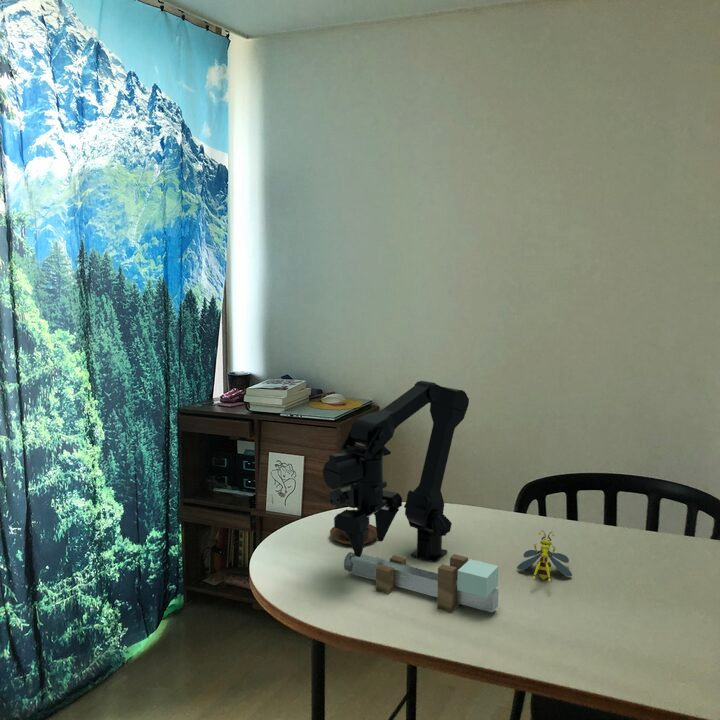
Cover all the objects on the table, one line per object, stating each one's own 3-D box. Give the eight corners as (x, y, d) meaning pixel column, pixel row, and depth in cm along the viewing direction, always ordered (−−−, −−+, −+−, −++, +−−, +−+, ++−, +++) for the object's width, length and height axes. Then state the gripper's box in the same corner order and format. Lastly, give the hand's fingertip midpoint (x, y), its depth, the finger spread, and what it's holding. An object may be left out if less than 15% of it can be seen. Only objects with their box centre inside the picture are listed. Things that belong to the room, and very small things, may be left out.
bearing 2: (453, 593, 146) (454, 553, 144) (466, 596, 144) (467, 557, 143) (437, 608, 139) (437, 567, 138) (451, 612, 138) (452, 571, 136)
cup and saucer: (321, 544, 170) (321, 520, 169) (341, 526, 181) (341, 503, 180) (368, 552, 166) (368, 527, 165) (385, 533, 177) (385, 510, 176)
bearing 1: (393, 576, 153) (394, 554, 152) (406, 580, 151) (406, 558, 151) (376, 591, 146) (376, 568, 146) (388, 594, 145) (388, 571, 144)
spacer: (469, 578, 142) (469, 559, 142) (497, 585, 139) (498, 566, 138) (457, 590, 137) (457, 570, 137) (486, 597, 134) (486, 577, 133)
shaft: (353, 566, 156) (353, 549, 155) (498, 606, 138) (499, 587, 138) (343, 573, 153) (343, 556, 152) (491, 615, 135) (491, 595, 134)
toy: (512, 557, 145) (520, 525, 159) (511, 594, 147) (519, 558, 161) (571, 565, 142) (574, 531, 156) (570, 602, 144) (573, 565, 158)
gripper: (360, 461, 160) (360, 526, 163) (312, 484, 145) (313, 556, 147) (403, 468, 155) (402, 536, 157) (358, 493, 139) (358, 568, 141)
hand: (369, 548), depth 151 cm, fingers open, 9 cm apart
